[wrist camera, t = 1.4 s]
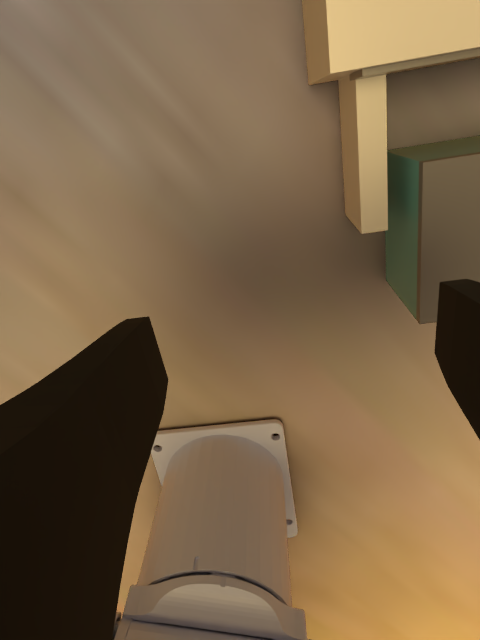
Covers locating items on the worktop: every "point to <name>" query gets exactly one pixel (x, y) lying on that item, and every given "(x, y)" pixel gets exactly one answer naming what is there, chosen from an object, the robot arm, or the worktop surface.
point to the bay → (379, 76)
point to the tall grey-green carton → (432, 220)
